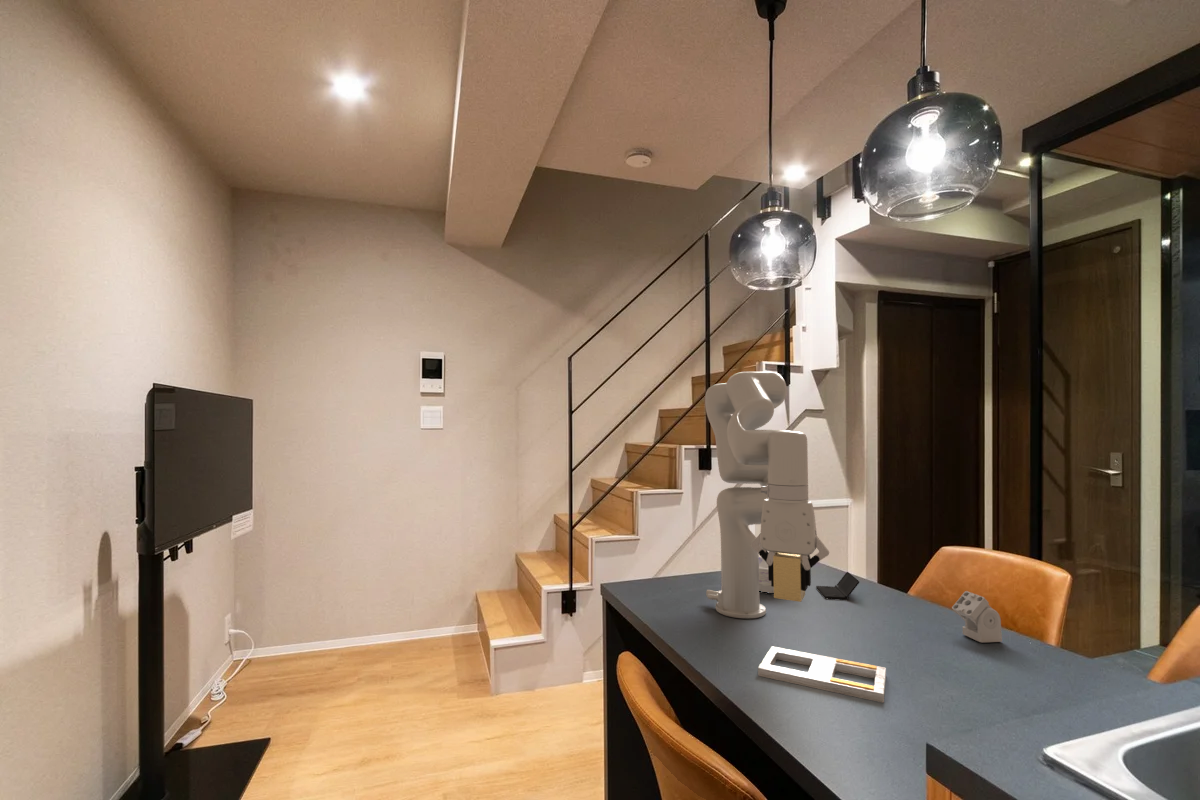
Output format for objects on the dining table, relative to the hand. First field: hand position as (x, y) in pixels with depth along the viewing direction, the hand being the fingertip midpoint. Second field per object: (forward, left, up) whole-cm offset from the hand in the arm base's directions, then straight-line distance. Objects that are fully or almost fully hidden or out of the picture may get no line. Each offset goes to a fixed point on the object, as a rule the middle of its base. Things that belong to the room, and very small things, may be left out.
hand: (789, 586), depth 106 cm
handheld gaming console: (+2, +59, -16) cm, 61 cm away
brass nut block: (0, 0, -2) cm, 2 cm away
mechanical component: (+33, +37, -16) cm, 52 cm away
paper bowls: (-16, +54, -16) cm, 58 cm away
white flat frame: (+6, 0, -16) cm, 17 cm away
